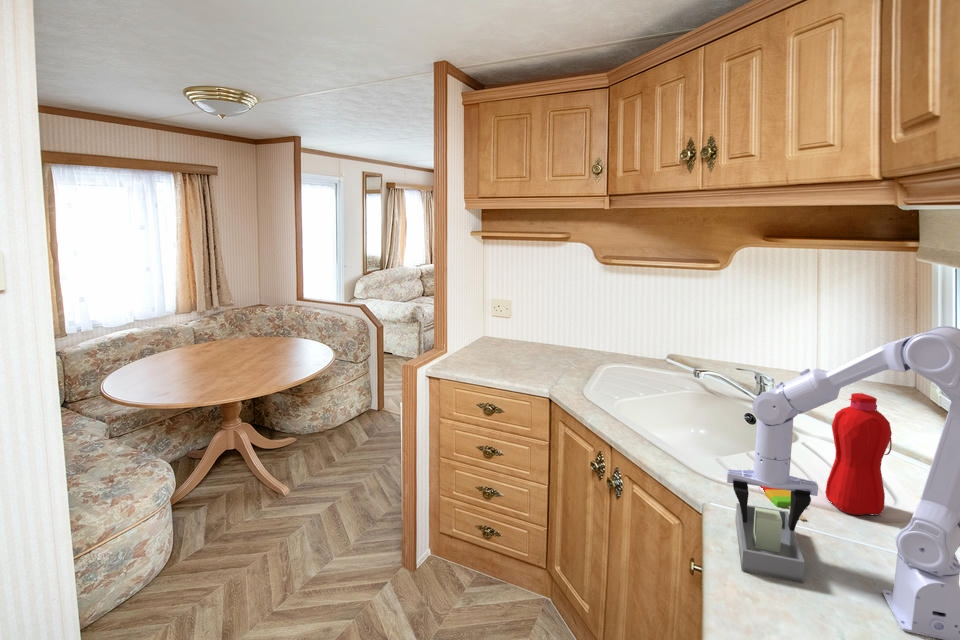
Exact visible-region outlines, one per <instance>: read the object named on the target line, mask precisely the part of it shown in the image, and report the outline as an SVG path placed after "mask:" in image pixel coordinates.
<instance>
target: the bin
mask: <svg viewBox="0 0 960 640" xmlns="http://www.w3.org/2000/svg"><path fill="white" fill-rule="evenodd" d="M755 508H761V509H768V510H774V511H779V513H780V516H781V519H782V532H781V544H780V552H774V551H769V550H764V549H758V548H755V544H754V539H753V530H754V516H755ZM789 513H790V512H789V511H788V510H787V511H786V510H781V509H780V510H779V509H776V508H775V509H774V508H768V507H762V506H756V505H751V504H750V505H749V504H747V523H744V522H743V521H742V511H741V507H740V504H739V502H738V503H736V505H735V527H736V534H737V535H736V536H737V543H738V550H739V551H738V552H739V560H740V567H741V571H742V572H747V573H750V574H756V575H760V576H764V577H765V576H766V577H771V578H775V579H780V580H784V581H788V582H789V581H790V582H795V583H799V584H804V577H805V576H804V573H805V560H804V556H803V553H802V550H801V547H800V545H799V541H798V538H797V535H796V532H795V530H794V531H790V529H789V526H788V520H789Z"/></svg>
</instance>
